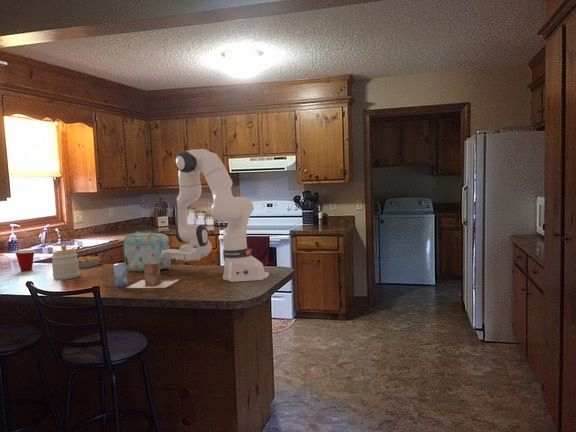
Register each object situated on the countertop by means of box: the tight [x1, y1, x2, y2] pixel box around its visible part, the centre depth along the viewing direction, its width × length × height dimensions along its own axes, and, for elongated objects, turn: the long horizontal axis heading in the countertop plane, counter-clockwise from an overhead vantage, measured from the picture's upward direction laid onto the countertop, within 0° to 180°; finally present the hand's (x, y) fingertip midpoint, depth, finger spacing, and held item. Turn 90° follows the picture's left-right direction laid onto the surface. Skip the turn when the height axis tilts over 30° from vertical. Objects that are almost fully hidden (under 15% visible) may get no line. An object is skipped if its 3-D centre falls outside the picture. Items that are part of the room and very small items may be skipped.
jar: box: [50, 244, 80, 281], centre depth 251 cm, size 13×13×18 cm
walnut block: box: [143, 262, 162, 286], centre depth 220 cm, size 5×5×10 cm
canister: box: [113, 262, 129, 288], centre depth 221 cm, size 6×6×11 cm
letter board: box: [125, 278, 180, 289], centre depth 223 cm, size 20×16×1 cm
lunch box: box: [122, 231, 172, 272], centre depth 260 cm, size 27×10×21 cm, turn 72°
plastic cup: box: [14, 249, 36, 272], centre depth 279 cm, size 11×11×12 cm
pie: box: [77, 255, 101, 269], centre depth 286 cm, size 22×22×5 cm
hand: (168, 257), depth 230 cm, fingers open, 8 cm apart
